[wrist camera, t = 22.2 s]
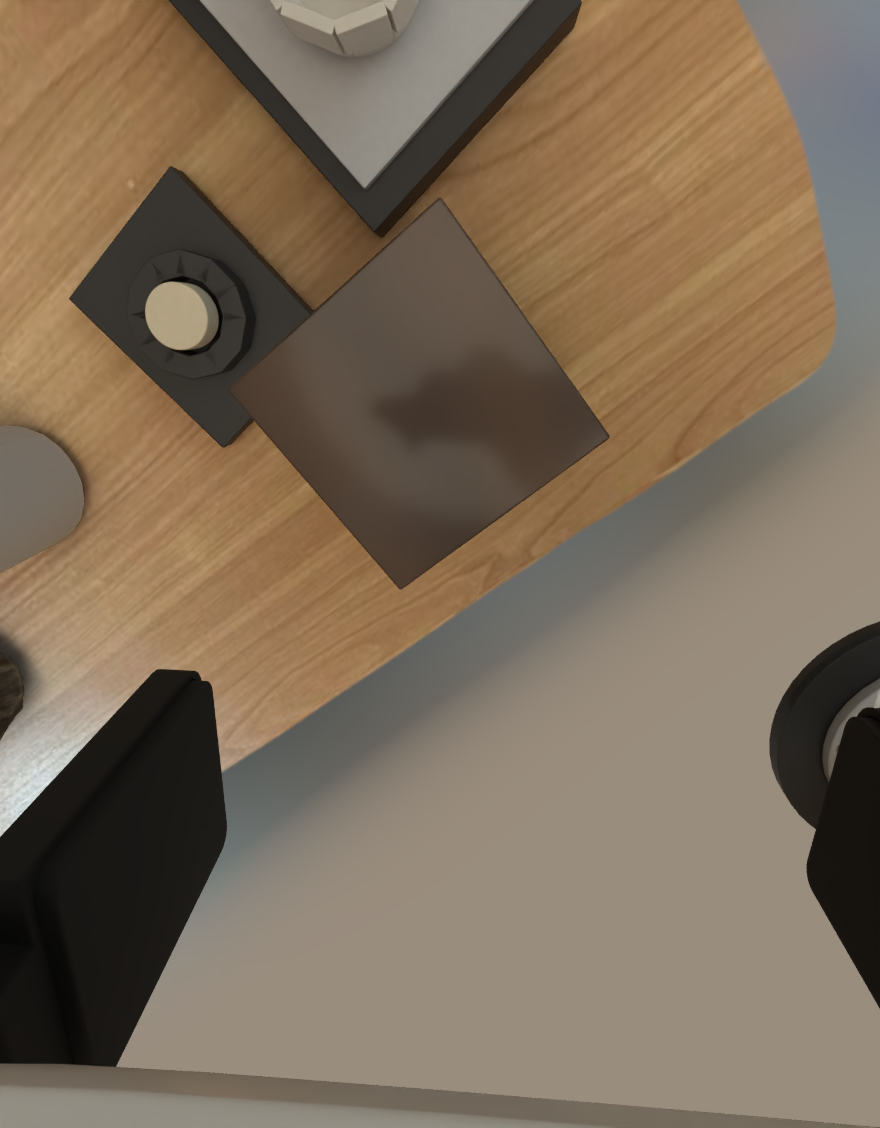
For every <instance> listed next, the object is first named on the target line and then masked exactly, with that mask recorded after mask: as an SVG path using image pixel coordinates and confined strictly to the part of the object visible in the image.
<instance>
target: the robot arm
mask: <svg viewBox="0 0 880 1128" xmlns="http://www.w3.org/2000/svg"><path fill="white" fill-rule="evenodd" d="M822 761H823V768H824V773H825V776H826V778H827V781H828V783H829V785H828V789H827V792H826V796H825V799H824V803H823V806H822V810H821V814H820V817H819V821H818V824H817V828H816V832H815V835H814V839H813V842H812V846H811V850H810V853H809V857H808V860H807V877H808V881H809V884H810V887H811V889H812V891H813V893H814V895H815V896H816V898H817V900H818V902H819V903H820V905H821V907H822V909H823V910H824V912H825V914H826V916H827V917H828V919H829V921H830V923H831V924H832V926H833V928H834V930H835V931H836V933H837V935H838V937H839V938H840V940H841V942H842V944H843V945H844V947H845V949H846V951H847V952H848V954H849V956H850V958H851V959H852V961H853V963H854V964H855V966H856V968H857V970H858V971H859V973H860V975H861V977H862V978H863V980H864V982H865V984H866V985H867V987H868V989H869V991H870V992H871V994H872V996H873V998H874V999H875V1001H876V1003H877V1005H878V1006H879V1008H880V678H879V679H878V680H876V681H875V682H873V683H871V684H870V685H868V686H866V687H865V688H863V689H862V690H861V691H859V692H858V693H857V694H856V695H855V696H854V697H852V698H851V699H850V700H849V701H848V702H847V703H846V704H845V705H844V707H843V708H842V709H841V710H840V711H839V713H838V714H837V715H836V717H835V719H834V720H833V722H832V724H831V726H830V727H829V729H828V732H827V735H826V738H825V741H824V744H823V755H822ZM226 831H227V821H226V812H225V802H224V793H223V783H222V774H221V764H220V755H219V746H218V736H217V727H216V718H215V708H214V699H213V691H212V686H211V684H210V683H209V682H208V681H201V677H200V675H199V673H197V672H196V671H185V670H166V669H158V670H156V671H155V672H153V673H152V674H151V675H150V676H149V677H148V679H147V680H146V681H145V682H144V683H143V684H142V685H141V686H140V687H139V688H138V689H137V690H136V691H135V693H134V694H133V695H132V696H131V697H130V698H129V699H128V700H127V701H126V702H125V703H124V704H123V705H122V707H121V708H120V709H119V710H118V711H117V712H116V713H115V714H114V715H113V716H112V717H111V718H110V719H109V721H108V722H107V723H106V724H105V725H104V726H103V727H102V728H101V729H100V730H99V731H98V732H97V733H96V735H95V736H94V737H93V738H92V739H91V740H90V741H89V742H88V743H87V744H86V745H85V746H84V747H83V749H82V750H81V751H80V752H79V753H78V754H77V755H76V756H75V757H74V758H73V759H72V760H71V761H70V763H69V764H68V765H67V766H66V767H65V768H64V769H63V770H62V771H61V772H60V773H59V774H58V775H57V776H56V778H55V779H54V780H53V781H52V782H51V783H50V784H49V785H48V786H47V787H46V788H45V789H44V790H43V792H42V793H41V794H40V795H39V796H38V797H37V798H36V799H35V800H34V801H33V802H32V803H31V804H30V806H29V807H28V808H27V809H26V810H25V811H24V812H23V813H22V814H21V815H20V816H19V817H18V818H17V820H16V821H15V822H14V823H13V824H12V825H11V826H10V827H9V828H8V829H7V830H6V831H5V832H4V834H3V835H2V836H1V837H0V1128H880V1127H868V1126H858V1125H846V1124H835V1123H824V1122H813V1121H802V1120H790V1119H778V1118H767V1117H756V1116H745V1115H733V1114H721V1113H709V1112H697V1111H685V1110H674V1109H662V1108H649V1107H638V1106H626V1105H614V1104H601V1103H590V1102H578V1101H566V1100H554V1099H542V1098H528V1097H517V1096H504V1095H492V1094H481V1093H469V1092H456V1091H444V1090H430V1089H417V1088H405V1087H392V1086H379V1085H366V1084H353V1083H339V1082H326V1081H312V1080H301V1079H288V1078H274V1077H262V1076H248V1075H235V1074H223V1073H209V1072H192V1071H175V1070H156V1069H139V1068H122V1067H116V1065H117V1063H118V1061H119V1059H120V1057H121V1055H122V1053H123V1051H124V1049H125V1047H126V1045H127V1043H128V1041H129V1039H130V1037H131V1035H132V1033H133V1031H134V1029H135V1027H136V1025H137V1023H138V1020H139V1018H140V1017H141V1015H142V1012H143V1010H144V1008H145V1006H146V1004H147V1002H148V1000H149V998H150V996H151V994H152V992H153V990H154V988H155V986H156V984H157V982H158V980H159V978H160V976H161V974H162V971H163V969H164V967H165V966H166V963H167V961H168V959H169V957H170V955H171V953H172V951H173V949H174V947H175V945H176V943H177V941H178V939H179V937H180V935H181V933H182V931H183V929H184V926H185V924H186V922H187V921H188V919H189V917H190V914H191V912H192V910H193V908H194V906H195V904H196V902H197V900H198V898H199V896H200V894H201V892H202V890H203V888H204V886H205V884H206V882H207V880H208V878H209V876H210V874H211V872H212V869H213V867H214V865H215V863H216V861H217V859H218V857H219V855H220V853H221V851H222V849H223V846H224V842H225V838H226Z"/></svg>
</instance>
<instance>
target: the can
mask: <svg viewBox="0 0 880 1128" xmlns="http://www.w3.org/2000/svg"><path fill="white" fill-rule="evenodd" d="M83 507H84V494H83V486H82V482H81V479H80V477H79V475H78V472H77V470H76V468H75V466H74V464H73V463H72V461H71V460H70V459H69V458H68V456H67V455H66V454H65V453H64V451H63V450H62V449H61V448H60V447H59V446H58V445H56V444H55V443H54V442H52V441H51V440H50V439H48V438H47V437H46V436H44V435H43V434H41V433H38V432H35V431H33V430H30V429H28V428H25V427H20V426H7V425H3V426H0V573H2V572H3V571H5V570H7V569H9V568H11V567H13V566H15V565H17V564H19V563H20V562H22V561H24V560H26V559H28V558H30V557H32V556H34V555H36V554H37V553H39V552H41V551H43V550H45V549H47V548H49V547H51V546H52V545H54V544H56V543H58V542H60V541H61V540H63V539H64V538H65V537H67V536H68V535H70V534H71V533H72V532H73V531H74V529H75V528H76V526H77V524H78V523H79V521H80V520H81V516H82V512H83Z"/></svg>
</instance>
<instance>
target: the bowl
mask: <svg viewBox="0 0 880 1128" xmlns="http://www.w3.org/2000/svg"><path fill="white" fill-rule="evenodd" d="M269 1H270V2H271V4H272V5H273V7H274V8H275V10H276V12H277V13H278V15H279V16H280V17H281V19H282V20H283V22H284V23H285V25H286V26H287V28H288V29H289V31H290V32H291V33H292V32H293V34H294V35H295V37H297V38H300V39H302V40H305V41H307V42H310V43H312V44H315V45H317V46H320V47H322V48H325V49H327V50H328V51H331V52H333V53H335V54H338V55H342V56H347V57H363V56H368V55H372V54H374V53H377V52H379V51H381V50H383V49H385V48H386V47H388V46H389V45H391V44H392V43H393V42H394V41H396V40H397V39H398V37H399V36H400V35H401V34H402V33H403V32H404V30H405V29H406V28H407V26H408V25H409V23H410V21H411V19H412V18H413V16H414V13H415V11H416V8H417V6H418V2H419V0H269Z"/></svg>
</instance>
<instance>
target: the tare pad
mask: <svg viewBox="0 0 880 1128" xmlns="http://www.w3.org/2000/svg"><path fill="white" fill-rule="evenodd" d="M165 282H182V283H190V284H193V285H196V286H198V287H200V288H202V289H203V290H204V291H205V292H207V293H208V295H209V296H210V297H211V298H212V300H213V301H214V303H215V305H216V308H217V311H218V317H219V324H218V329H217V332H216V334H215V336H214V338H213V339H212V340H211V341H210V342H209V343H208V344H207V345H205V346H203V347H201V348H197V349H189V350H175V349H172V348H169V347H167V346H165V345H163V344H162V343H161V342H159V341H158V340H157V339H156V338H155V337H154V335H153V334H152V332H151V331H150V329H149V327H148V324H147V321H146V316H145V306H146V302H147V299H148V297H149V295H150V293H151V292H152V291H153V290H154V288H156V287H157V286H159V285H160V284H163V283H165ZM69 299H70V300H71V301H72V302H73V303H74V304H75V305H76V306H77V307H78V308H79V309H80V310H81V311H82V312H83V313H84V314H85V315H86V316H87V317H88V318H89V319H90V320H91V321H92V322H93V323H94V324H95V325H96V326H97V327H99V328H100V329H101V330H102V331H103V332H104V333H105V334H106V335H107V336H108V337H109V338H110V339H111V340H112V341H113V342H114V343H115V344H116V345H117V346H118V347H119V348H120V349H121V350H122V351H123V352H124V353H125V354H126V355H127V356H128V357H130V358H131V359H132V360H133V361H134V362H135V363H136V364H137V365H138V366H139V367H140V368H141V369H142V370H143V371H144V372H145V373H146V374H147V375H148V376H149V377H150V378H151V379H152V380H153V381H154V382H155V383H156V384H157V385H158V386H160V387H161V388H162V389H163V390H164V391H165V392H166V393H167V394H168V395H169V396H170V397H171V398H172V399H173V400H174V401H175V402H176V403H177V404H178V405H179V406H180V407H181V408H182V409H183V410H184V411H185V412H186V413H187V414H188V415H189V416H191V417H192V418H193V419H194V420H195V421H196V422H197V423H198V424H199V425H200V426H201V427H202V428H203V429H204V430H205V431H206V432H207V433H208V434H209V435H210V436H211V437H212V438H213V439H214V440H215V441H216V442H217V443H218V444H219V445H221V446H222V447H223V448H224V447H226V446H228V445H230V444H232V443H233V442H234V441H235V440H236V439H237V438H238V437H239V436H240V434H241V433H242V432H243V431H244V430H245V429H246V428H247V427H248V426H249V425H250V424H251V423H252V422H253V421H254V420H253V419H252V417H251V416H250V415H249V414H248V413H247V412H246V410H245V409H244V408H243V407H242V406H241V405H240V403H239V402H238V401H237V400H236V399H235V398H234V396H233V395H232V394H231V393H230V392H229V388H230V387H231V386H232V385H233V384H234V383H236V382H237V381H238V380H239V379H240V378H241V377H242V376H243V375H244V374H245V373H247V372H248V371H249V370H250V369H251V368H252V367H253V366H254V365H255V364H256V363H258V362H259V361H260V360H261V359H262V358H263V357H264V356H265V355H266V354H267V353H269V352H270V351H271V350H272V349H273V348H274V347H275V346H276V345H277V344H278V343H279V342H281V341H282V340H283V339H284V338H285V337H286V336H287V335H288V334H289V333H290V332H292V331H293V330H294V329H295V328H296V327H297V326H298V325H299V324H300V323H301V322H303V321H304V320H305V319H306V318H307V317H308V316H309V315H310V314H311V313H312V312H314V311H313V310H312V309H311V308H310V307H309V306H308V305H307V304H306V303H305V302H304V301H303V300H302V298H301V297H300V296H299V295H298V294H297V293H296V292H295V291H294V290H293V289H292V288H291V287H290V286H289V285H288V284H287V282H286V281H285V280H284V279H283V278H282V277H281V276H280V275H279V274H278V273H277V272H276V271H275V270H274V269H273V268H272V266H271V265H270V264H269V263H268V262H267V261H266V260H265V259H264V258H263V257H262V256H261V255H260V254H259V253H258V252H257V250H256V249H255V248H254V247H253V246H252V245H251V244H250V243H249V242H248V241H247V240H246V239H245V238H244V237H243V236H242V235H241V233H240V232H239V231H238V230H237V229H236V228H235V227H234V226H233V225H232V224H231V223H230V222H229V221H228V220H227V219H226V217H225V216H224V215H223V214H222V213H221V212H220V211H219V210H218V209H217V208H216V207H215V206H214V205H213V204H212V203H211V201H210V200H209V199H208V198H207V197H206V196H205V195H204V194H203V193H202V192H201V191H200V190H199V189H198V188H197V187H196V185H195V184H194V183H193V182H192V181H191V180H190V179H189V178H188V177H187V176H186V175H185V174H184V173H183V172H182V171H180V170H178V169H176V168H174V167H172V166H171V167H169V169H168V170H167V171H166V173H165V174H164V175H163V177H162V178H161V179H160V180H159V182H158V183H157V184H156V186H155V187H154V188H153V190H152V191H151V192H150V194H149V195H148V196H147V197H146V199H145V200H144V201H143V203H142V204H141V205H140V207H139V208H138V209H137V211H136V212H135V213H134V214H133V216H132V217H131V218H130V220H129V221H128V222H127V224H126V225H125V226H124V228H123V229H122V230H121V231H120V233H119V234H118V235H117V237H116V238H115V239H114V241H113V242H112V243H111V244H110V246H109V247H108V248H107V250H106V251H105V252H104V254H103V255H102V256H101V258H100V259H99V260H98V261H97V263H96V264H95V265H94V267H93V268H92V269H91V271H90V272H89V273H88V275H87V276H86V277H85V278H84V280H83V281H82V282H81V284H80V285H79V286H78V288H77V289H76V290H75V292H74V293H73V294H72V295H71V297H70V298H69Z"/></svg>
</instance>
